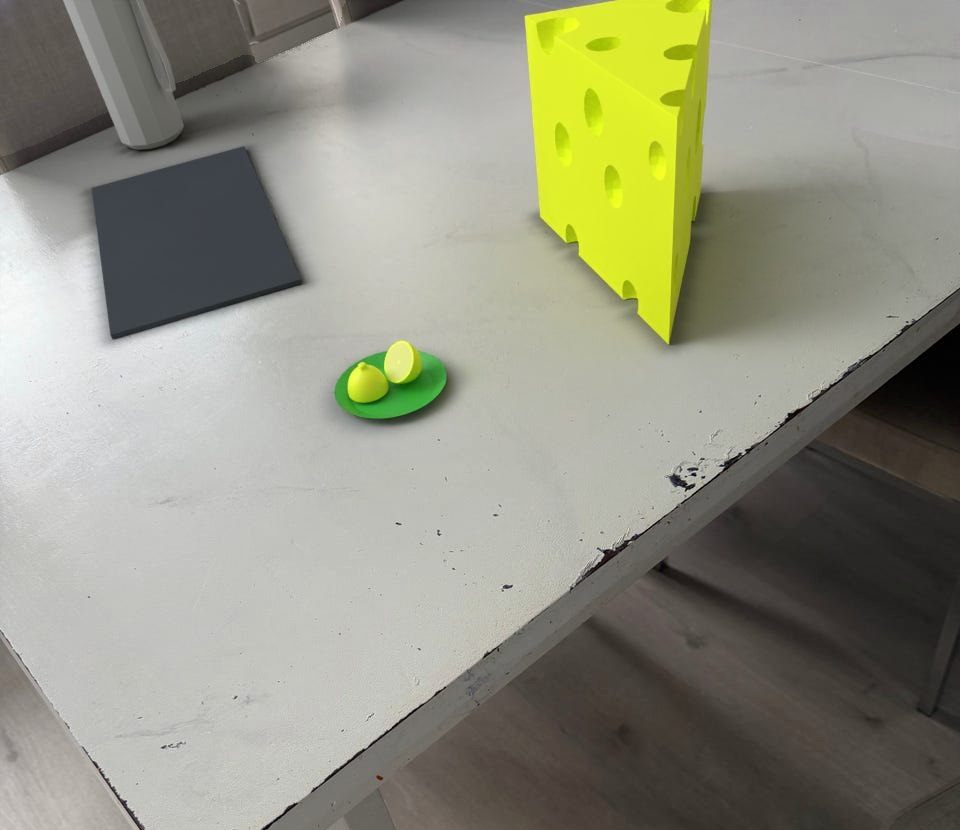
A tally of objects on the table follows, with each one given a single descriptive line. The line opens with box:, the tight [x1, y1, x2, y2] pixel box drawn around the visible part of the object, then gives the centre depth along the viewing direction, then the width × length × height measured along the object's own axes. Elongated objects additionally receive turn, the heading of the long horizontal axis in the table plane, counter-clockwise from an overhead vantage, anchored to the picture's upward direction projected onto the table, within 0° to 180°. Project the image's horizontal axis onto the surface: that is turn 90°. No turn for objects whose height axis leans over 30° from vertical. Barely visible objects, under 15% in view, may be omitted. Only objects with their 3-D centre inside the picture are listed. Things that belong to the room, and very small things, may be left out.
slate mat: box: [91, 145, 303, 340], centre depth 83 cm, size 30×16×1 cm, turn 19°
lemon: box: [334, 340, 448, 419], centre depth 63 cm, size 8×8×3 cm
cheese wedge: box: [524, 0, 713, 345], centre depth 66 cm, size 19×20×15 cm
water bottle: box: [62, 0, 185, 151], centre depth 89 cm, size 9×8×25 cm
